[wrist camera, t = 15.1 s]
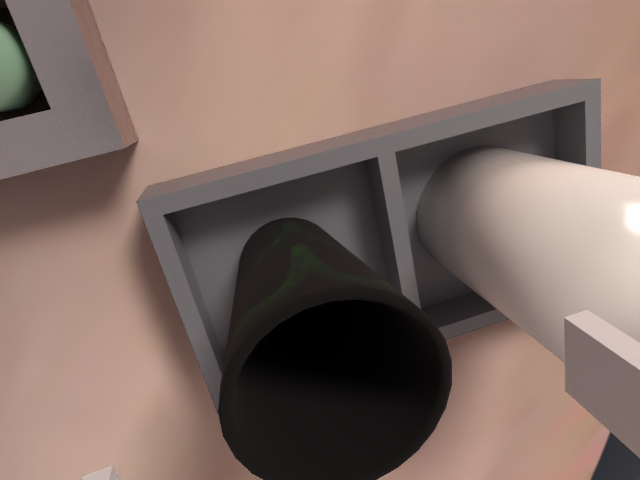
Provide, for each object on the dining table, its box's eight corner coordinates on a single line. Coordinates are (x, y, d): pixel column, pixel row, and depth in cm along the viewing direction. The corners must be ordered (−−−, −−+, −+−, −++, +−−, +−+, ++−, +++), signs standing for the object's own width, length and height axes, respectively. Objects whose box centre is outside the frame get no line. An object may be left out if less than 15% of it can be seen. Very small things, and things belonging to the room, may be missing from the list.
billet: (407, 165, 25) (556, 225, 14) (530, 131, 26) (762, 162, 15) (426, 285, 28) (563, 415, 17) (537, 250, 29) (738, 352, 18)
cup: (305, 346, 27) (362, 522, 16) (192, 287, 25) (169, 448, 14) (380, 243, 26) (497, 356, 15) (270, 170, 24) (314, 241, 13)
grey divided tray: (147, 186, 24) (136, 201, 20) (553, 79, 26) (600, 78, 23) (218, 376, 28) (217, 413, 25) (561, 267, 31) (601, 288, 28)
